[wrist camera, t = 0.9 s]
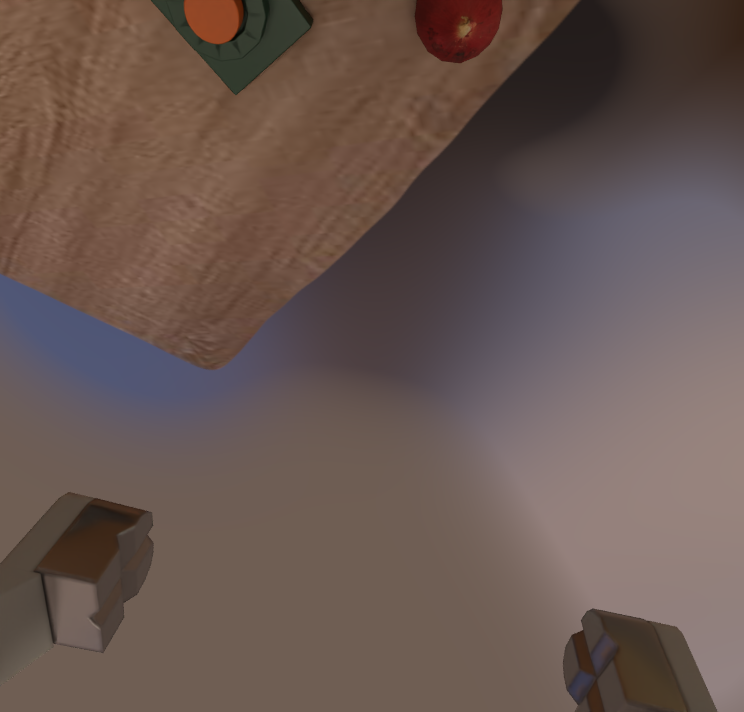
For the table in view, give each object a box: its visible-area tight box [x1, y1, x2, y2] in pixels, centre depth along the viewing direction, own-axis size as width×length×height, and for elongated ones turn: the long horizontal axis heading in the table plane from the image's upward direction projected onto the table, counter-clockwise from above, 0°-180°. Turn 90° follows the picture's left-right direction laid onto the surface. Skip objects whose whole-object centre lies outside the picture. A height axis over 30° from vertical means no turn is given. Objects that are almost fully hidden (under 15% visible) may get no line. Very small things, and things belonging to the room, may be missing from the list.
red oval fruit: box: [415, 0, 502, 63], centre depth 35 cm, size 6×6×8 cm
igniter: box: [151, 0, 313, 95], centre depth 37 cm, size 10×8×4 cm
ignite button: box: [184, 0, 244, 44], centre depth 35 cm, size 4×4×2 cm
